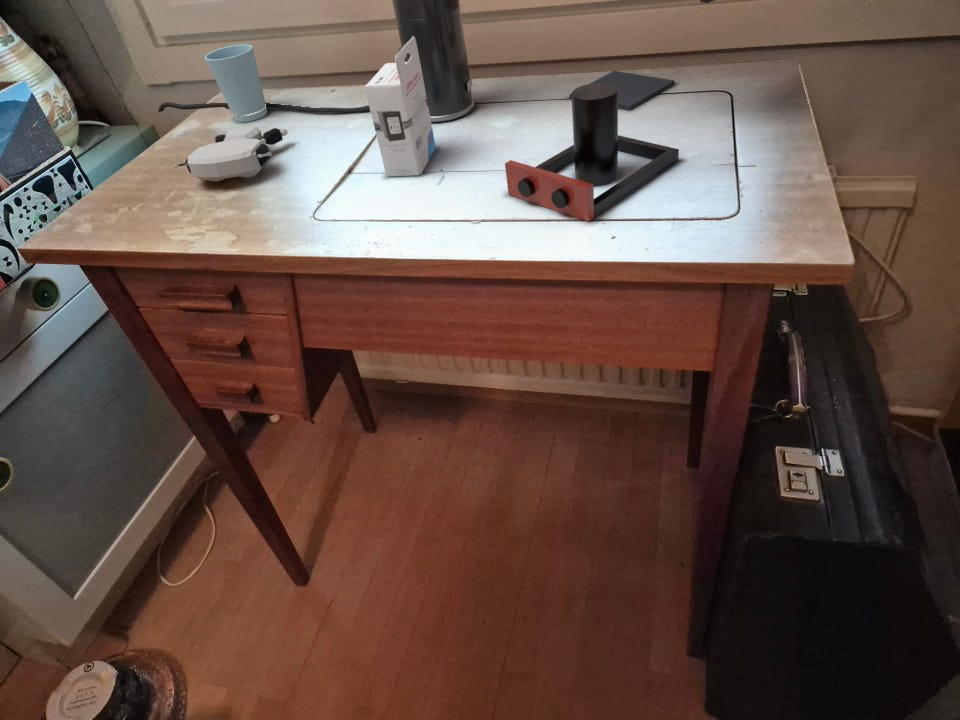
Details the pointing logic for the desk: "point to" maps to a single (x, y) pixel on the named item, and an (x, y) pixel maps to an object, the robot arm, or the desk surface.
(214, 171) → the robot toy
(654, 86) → the mat
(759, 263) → the desk surface
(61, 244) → the desk surface
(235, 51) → the cup
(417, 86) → the ink box
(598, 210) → the stove
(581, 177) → the can
